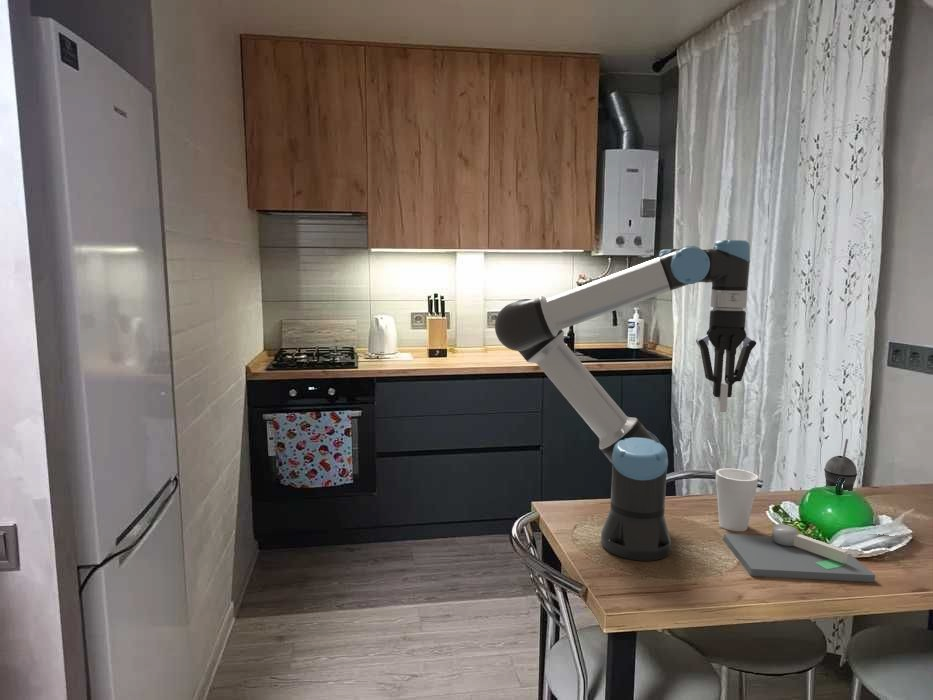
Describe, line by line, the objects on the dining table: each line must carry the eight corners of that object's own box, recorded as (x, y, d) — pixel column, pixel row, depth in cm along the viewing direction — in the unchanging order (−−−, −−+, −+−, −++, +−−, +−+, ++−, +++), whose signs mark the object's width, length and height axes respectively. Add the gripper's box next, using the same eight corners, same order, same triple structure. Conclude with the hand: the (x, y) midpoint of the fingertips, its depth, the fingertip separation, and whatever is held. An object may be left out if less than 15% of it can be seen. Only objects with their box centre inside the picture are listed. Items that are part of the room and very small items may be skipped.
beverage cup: (813, 511, 160) (820, 436, 158) (833, 508, 163) (840, 434, 160) (839, 522, 153) (846, 444, 151) (859, 518, 156) (867, 442, 153)
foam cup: (743, 537, 144) (746, 483, 142) (705, 525, 151) (708, 473, 149) (760, 526, 150) (764, 475, 149) (723, 515, 157) (727, 465, 155)
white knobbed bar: (767, 539, 138) (768, 527, 138) (779, 534, 141) (780, 522, 141) (839, 565, 126) (840, 552, 126) (850, 559, 129) (851, 546, 129)
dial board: (750, 575, 126) (751, 568, 125) (723, 539, 143) (723, 533, 142) (874, 582, 124) (875, 574, 124) (831, 545, 141) (832, 538, 140)
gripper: (703, 309, 137) (696, 413, 140) (764, 310, 136) (756, 415, 139) (693, 307, 144) (687, 406, 148) (751, 308, 143) (744, 408, 146)
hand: (721, 410), depth 143 cm, fingers closed
